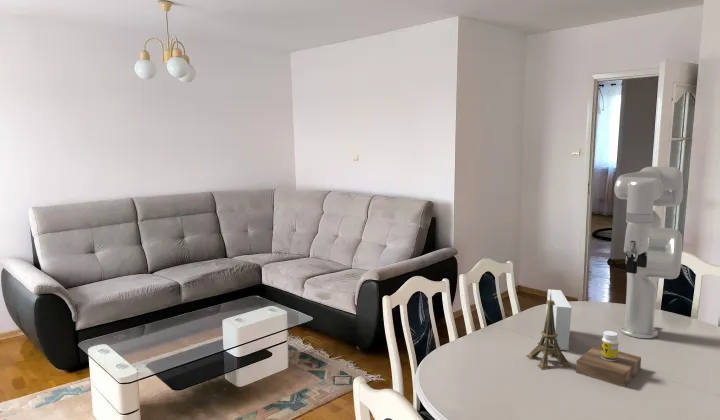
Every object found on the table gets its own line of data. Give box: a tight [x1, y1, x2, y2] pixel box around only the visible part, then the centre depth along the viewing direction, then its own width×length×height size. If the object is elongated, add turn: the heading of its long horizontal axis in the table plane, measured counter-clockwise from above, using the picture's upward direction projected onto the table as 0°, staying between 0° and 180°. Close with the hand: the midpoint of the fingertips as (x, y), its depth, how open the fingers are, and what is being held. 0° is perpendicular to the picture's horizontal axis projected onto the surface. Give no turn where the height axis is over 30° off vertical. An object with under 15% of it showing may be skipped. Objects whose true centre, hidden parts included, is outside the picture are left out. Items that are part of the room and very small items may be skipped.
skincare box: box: [545, 288, 572, 351], centre depth 188 cm, size 21×6×16 cm, turn 168°
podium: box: [575, 344, 642, 388], centre depth 163 cm, size 16×14×4 cm
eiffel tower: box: [525, 295, 573, 370], centre depth 169 cm, size 11×11×25 cm
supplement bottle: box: [601, 330, 620, 361], centre depth 162 cm, size 5×5×8 cm
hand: (636, 269), depth 168 cm, fingers open, 9 cm apart
